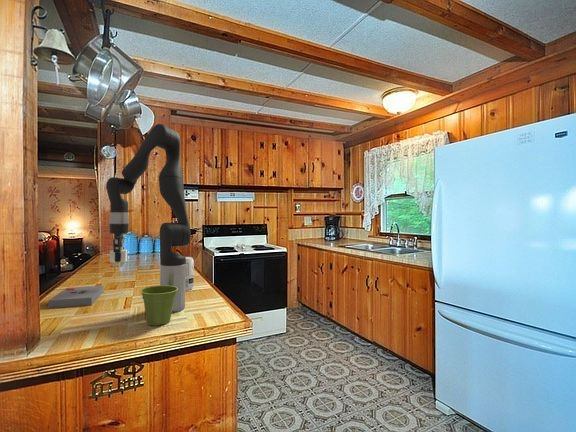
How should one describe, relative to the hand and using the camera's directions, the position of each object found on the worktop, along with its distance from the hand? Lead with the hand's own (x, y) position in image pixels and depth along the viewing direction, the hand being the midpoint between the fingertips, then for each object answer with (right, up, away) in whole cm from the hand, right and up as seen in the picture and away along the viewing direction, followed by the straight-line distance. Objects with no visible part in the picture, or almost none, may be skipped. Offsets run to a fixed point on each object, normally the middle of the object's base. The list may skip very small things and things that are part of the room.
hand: (118, 260), depth 135 cm
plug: (0, -2, 0) cm, 2 cm away
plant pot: (+32, -16, -33) cm, 48 cm away
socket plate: (-12, -15, -9) cm, 21 cm away
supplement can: (+25, -16, +12) cm, 32 cm away
